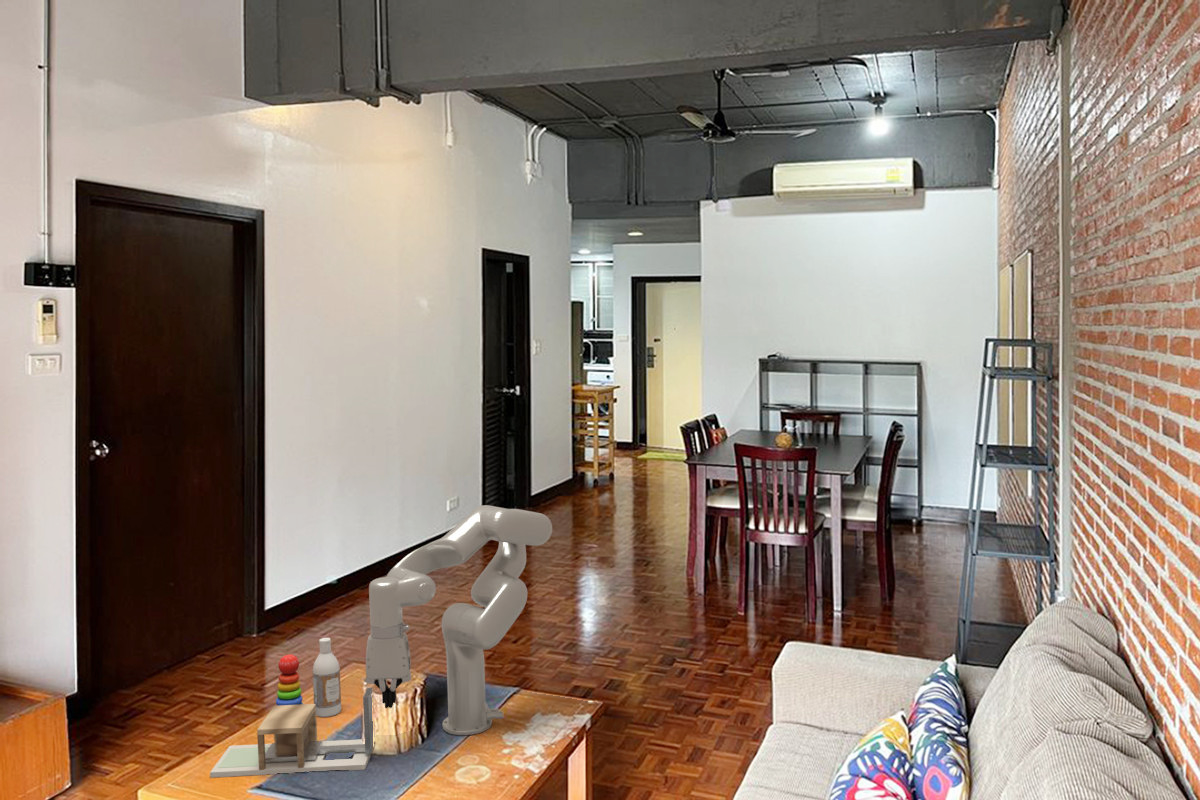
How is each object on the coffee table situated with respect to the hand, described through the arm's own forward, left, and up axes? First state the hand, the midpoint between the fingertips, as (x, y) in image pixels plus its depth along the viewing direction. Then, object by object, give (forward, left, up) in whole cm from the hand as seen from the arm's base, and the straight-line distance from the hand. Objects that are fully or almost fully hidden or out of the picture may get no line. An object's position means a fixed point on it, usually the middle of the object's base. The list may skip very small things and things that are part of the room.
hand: (389, 705), depth 224 cm
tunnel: (+24, 0, -11) cm, 26 cm away
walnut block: (+23, 0, -10) cm, 25 cm away
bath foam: (+21, -28, -12) cm, 37 cm away
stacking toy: (+29, -20, -12) cm, 37 cm away
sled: (+17, 0, -11) cm, 20 cm away
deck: (+22, 0, -12) cm, 26 cm away
